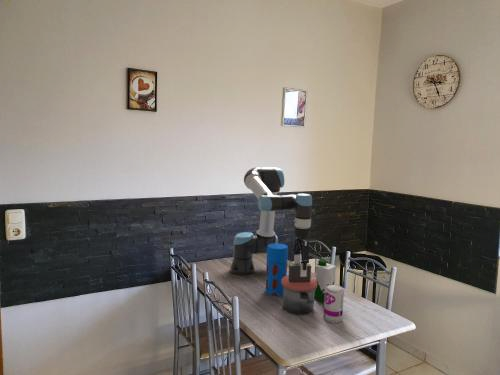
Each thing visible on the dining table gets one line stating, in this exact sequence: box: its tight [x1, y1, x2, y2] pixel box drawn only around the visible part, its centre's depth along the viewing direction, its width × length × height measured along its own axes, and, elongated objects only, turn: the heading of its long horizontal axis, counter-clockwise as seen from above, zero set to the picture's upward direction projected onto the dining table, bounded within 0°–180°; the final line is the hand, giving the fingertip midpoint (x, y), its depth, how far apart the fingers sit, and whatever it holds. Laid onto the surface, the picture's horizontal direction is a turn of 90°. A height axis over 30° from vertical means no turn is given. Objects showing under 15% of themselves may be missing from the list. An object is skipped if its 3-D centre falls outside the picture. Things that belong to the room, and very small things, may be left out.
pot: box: [281, 286, 315, 316], centre depth 177 cm, size 21×16×12 cm
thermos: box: [265, 242, 289, 297], centre depth 195 cm, size 11×11×25 cm
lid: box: [281, 263, 317, 291], centre depth 176 cm, size 17×17×10 cm
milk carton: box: [314, 259, 337, 304], centre depth 187 cm, size 9×9×20 cm
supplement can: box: [323, 284, 345, 324], centre depth 167 cm, size 8×8×15 cm
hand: (299, 271), depth 175 cm, fingers open, 11 cm apart
